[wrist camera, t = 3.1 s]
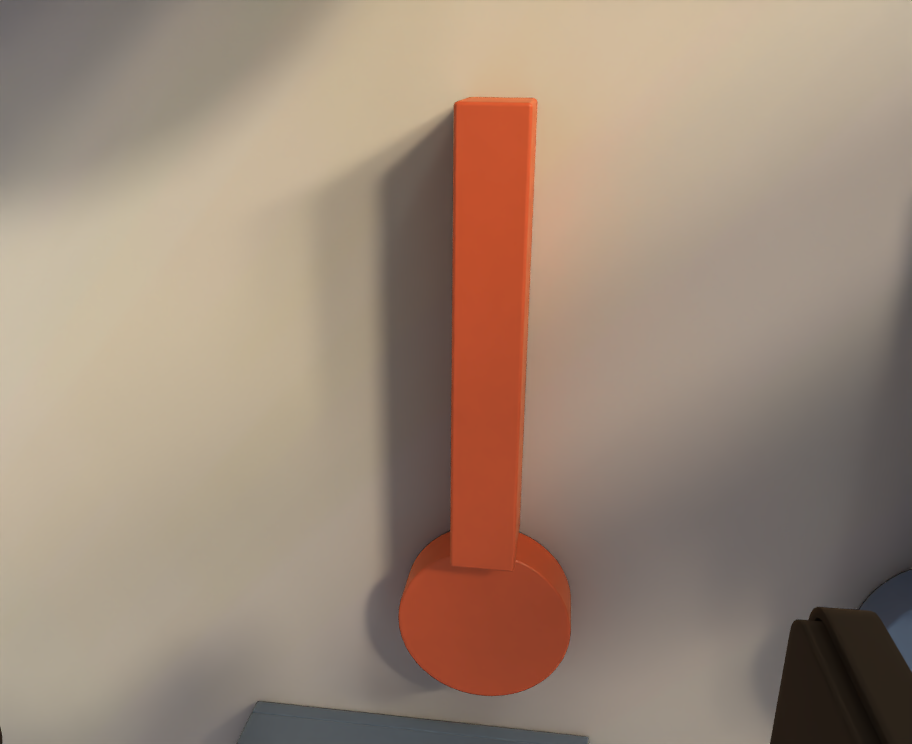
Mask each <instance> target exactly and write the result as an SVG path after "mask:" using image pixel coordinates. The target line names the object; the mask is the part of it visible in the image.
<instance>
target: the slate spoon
mask: <svg viewBox="0 0 912 744" xmlns="http://www.w3.org/2000/svg"><path fill="white" fill-rule="evenodd" d="M859 610H867V611H872V612H875V613H876V614H877V615H878V616H879V618H880V619H881V620H882V622H883V624H884V626H885V627H886V629H887V631H888V632H889V634H890V636H891V637H892V639H893V641H894V643H895V644H896V646H897V648H898V649H899V651H900V653H901V655H902V656H903V658H904V660H905V661H906V663H907V665H908V667H909V668H910V670H911V672H912V569H911V570H908V571H906V572H903V573H901V574H899V575H897V576H895V577H893V578H892V579H890V580H888V581H887V582H885V583H884V584H882V585H881V586H880V587H879V588H877V589H876V590H875V591H874V592H873V593H872V594H871V595H870V596H869V597H868V598H867V599H866V601H865V602H864V603H863V605H862V606H861V608H860V609H859Z"/></svg>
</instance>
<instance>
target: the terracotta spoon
mask: <svg viewBox="0 0 912 744" xmlns="http://www.w3.org/2000/svg"><path fill="white" fill-rule="evenodd" d="M536 122H537V100H536V99H535V98H499V97H469V98H466V99H463V100H460V101H457V102H455V104H454V140H453V264H452V388H451V512H450V532H447V533H445V534H443V535H441V536H439V537H438V538H436V539H435V540H433V541H432V542H431V543H429V544H428V545H427V546H426V547H425V548H424V549H423V550H422V551H421V553H420V554H419V555H418V556H417V558H416V560H415V562H414V563H413V565H412V568H411V570H410V573H409V576H408V579H407V582H406V585H405V589H404V592H403V595H402V598H401V602H400V606H399V616H398V618H399V628H400V632H401V636H402V639H403V641H404V644H405V646H406V648H407V650H408V651H409V653H410V655H411V656H412V657H413V659H414V660H415V661H416V663H417V664H418V665H419V666H420V667H421V668H422V669H423V670H424V671H425V672H427V673H428V674H429V675H430V676H432V677H433V678H435V679H436V680H438V681H439V682H441V683H443V684H445V685H447V686H449V687H451V688H454V689H456V690H459V691H462V692H466V693H470V694H476V695H483V696H500V695H508V694H514V693H517V692H521V691H524V690H526V689H529V688H531V687H533V686H535V685H537V684H538V683H540V682H542V681H543V680H544V679H546V678H547V677H548V676H549V675H550V674H551V673H552V672H553V671H554V670H555V669H556V668H557V667H558V665H559V664H560V662H561V661H562V659H563V657H564V655H565V653H566V651H567V648H568V645H569V641H570V634H571V594H570V588H569V584H568V581H567V578H566V576H565V574H564V572H563V570H562V568H561V566H560V565H559V563H558V562H557V560H556V559H555V558H554V557H553V556H552V555H551V554H550V552H549V551H547V550H546V549H545V548H544V547H543V546H542V545H540V544H539V543H538V542H536V541H535V540H533V539H532V538H530V537H528V536H526V535H524V534H522V533H519V527H520V505H521V481H522V457H523V433H524V409H525V385H526V361H527V338H528V314H529V290H530V266H531V242H532V218H533V194H534V170H535V146H536Z"/></svg>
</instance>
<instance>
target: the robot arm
mask: <svg viewBox="0 0 912 744" xmlns="http://www.w3.org/2000/svg"><path fill="white" fill-rule="evenodd" d="M0 744H2V733H1V728H0ZM770 744H912V672H911V670H910V668H909V667H908V665H907V663H906V661H905V660H904V658H903V656H902V655H901V653H900V651H899V649H898V648H897V646H896V644H895V643H894V641H893V639H892V637H891V636H890V634H889V632H888V631H887V629H886V627H885V626H884V624H883V622H882V620H881V619H880V618H879V616H878V615H877V614H876V613H875V612H872V611H867V610H854V609H840V608H827V607H816V608H814V609H813V610H812V612H811V614H810V616H809V620H795V621H794V622H793V624H792V626H791V630H790V634H789V640H788V646H787V651H786V657H785V663H784V668H783V674H782V680H781V685H780V691H779V696H778V702H777V708H776V713H775V719H774V725H773V730H772V736H771V742H770Z"/></svg>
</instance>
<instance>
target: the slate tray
mask: <svg viewBox="0 0 912 744" xmlns="http://www.w3.org/2000/svg"><path fill="white" fill-rule="evenodd" d="M237 744H589V738H588V737H586V736H577V735H567V734H558V733H549V732H540V731H530V730H521V729H512V728H503V727H493V726H484V725H475V724H466V723H456V722H447V721H438V720H429V719H419V718H410V717H401V716H392V715H382V714H373V713H364V712H355V711H345V710H336V709H327V708H318V707H308V706H299V705H290V704H281V703H271V702H262V701H258V702H257V703H256V705H255V707H254V710H253V712H252V713H251V715H250V717H249V719H248V721H247V723H246V725H245V727H244V729H243V731H242V733H241V735H240V737H239V739H238V742H237Z"/></svg>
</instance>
